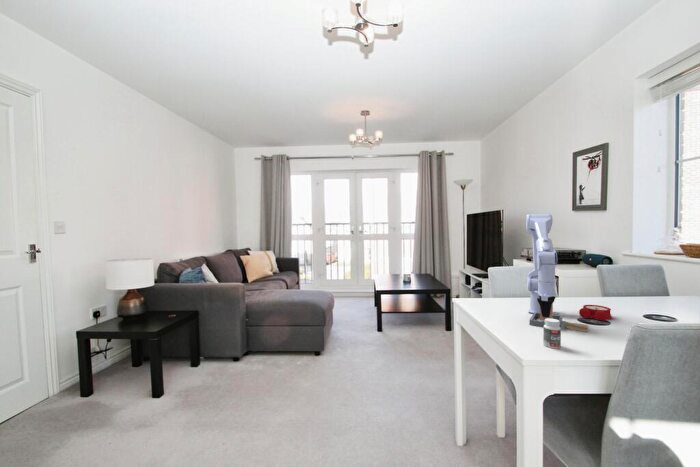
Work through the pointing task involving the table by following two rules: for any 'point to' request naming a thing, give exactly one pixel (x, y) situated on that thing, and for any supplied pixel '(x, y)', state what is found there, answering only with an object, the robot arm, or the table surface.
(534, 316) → the gray rectangular frame
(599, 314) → the alarm clock
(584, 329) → the walnut pad
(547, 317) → the block
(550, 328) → the pill bottle
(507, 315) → the table surface
